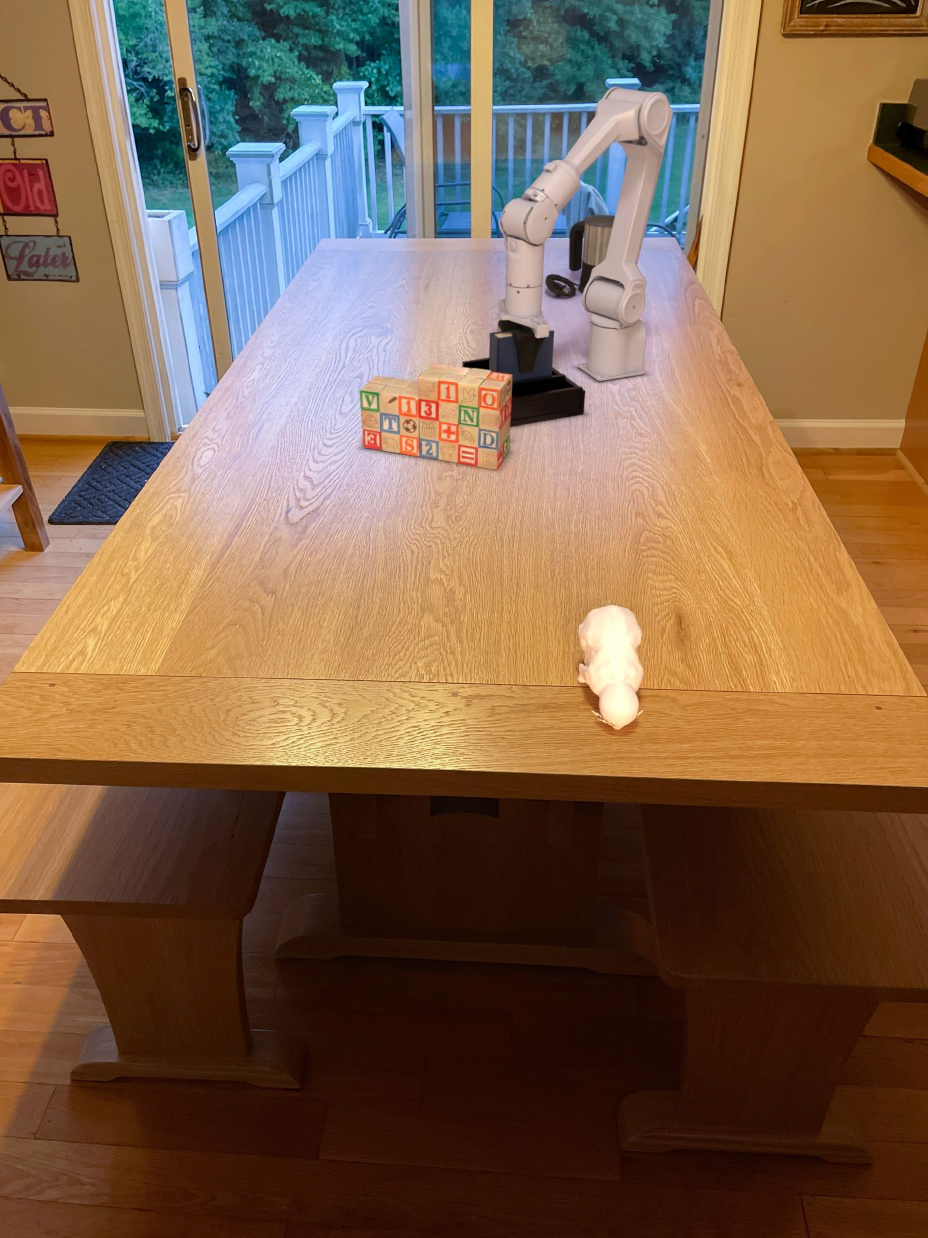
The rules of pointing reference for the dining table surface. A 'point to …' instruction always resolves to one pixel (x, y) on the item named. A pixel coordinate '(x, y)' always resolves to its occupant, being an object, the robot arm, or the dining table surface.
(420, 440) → the stack of blocks
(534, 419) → the rack
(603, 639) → the white animal figurine
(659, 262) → the dining table surface
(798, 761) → the dining table surface
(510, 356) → the book
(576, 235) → the milk frother
